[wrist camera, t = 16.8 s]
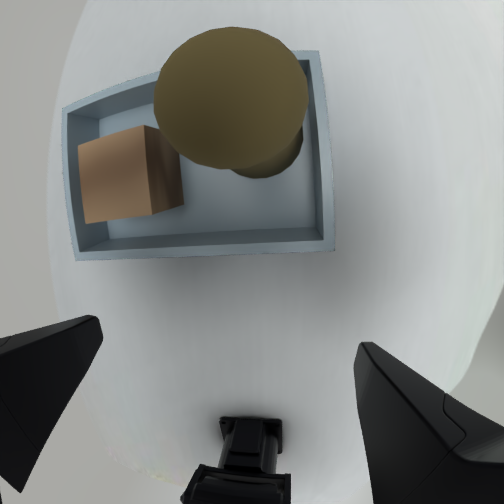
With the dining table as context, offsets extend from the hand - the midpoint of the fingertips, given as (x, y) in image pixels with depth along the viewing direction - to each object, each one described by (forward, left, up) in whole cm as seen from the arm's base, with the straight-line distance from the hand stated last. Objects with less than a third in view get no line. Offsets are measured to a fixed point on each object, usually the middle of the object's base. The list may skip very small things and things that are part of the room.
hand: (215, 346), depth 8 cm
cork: (+8, -1, -12) cm, 14 cm away
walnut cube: (+6, +7, -11) cm, 15 cm away
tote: (+6, +4, -12) cm, 14 cm away
